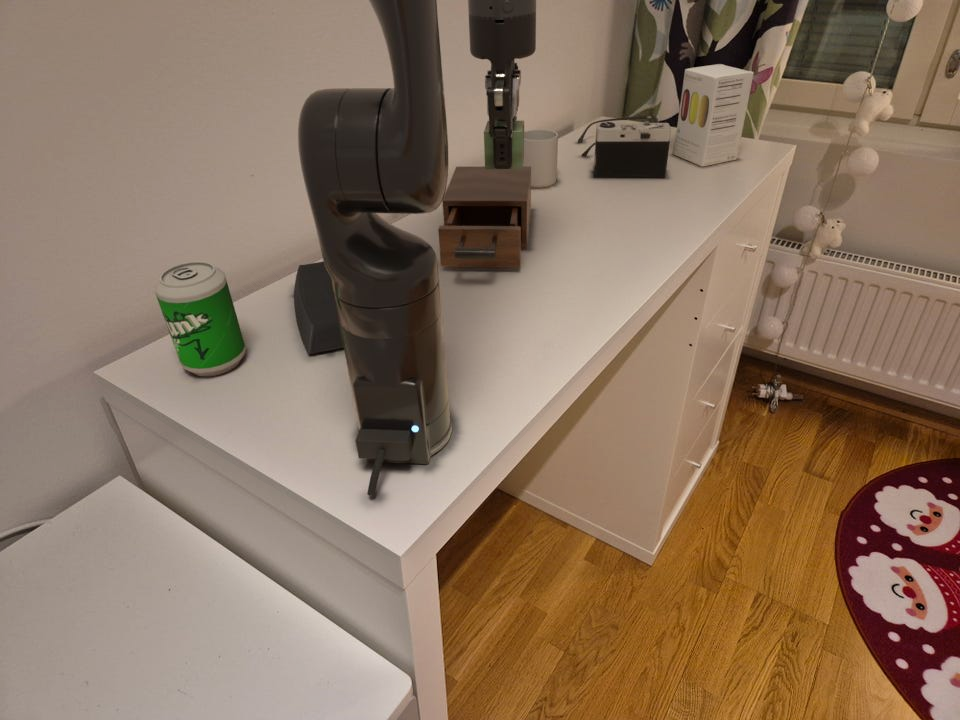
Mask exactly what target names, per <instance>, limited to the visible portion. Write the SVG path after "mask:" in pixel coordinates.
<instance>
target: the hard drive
mask: <svg viewBox="0 0 960 720" xmlns="http://www.w3.org/2000/svg"><path fill="white" fill-rule="evenodd" d="M293 304H294V305H293V306H294V314H295V320H296V324H297V328H298V332H299V335H300V338H301V341H302V344H303V346H304V349H305V350H306V352H307V354H308V355H313V354H319V353H324V352H328V351H329V352H330V351H334V350H339V349H344V346H343V340H342V335H341V329H340V324H339V318H338V312H337V307H336V301H335V296H334V290H333V286H332V280H331V277H330V275H329V273H328V271H327V269H326V267H325V264H324V261H319V262H313V263H305V264H299V265H298V268H297V271H296V274H295V282H294V289H293Z"/></svg>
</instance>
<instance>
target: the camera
mask: <svg viewBox="0 0 960 720" xmlns="http://www.w3.org/2000/svg"><path fill="white" fill-rule="evenodd" d="M595 129H596V130H595V142H594V143H595V145H594V159H593V160H594V161H593V178H595V179H597V178H599V179H601V178H602V179H625V178H626V179H665V178H666V175H667V167H668V166H667V165H668V159H669V153H670V144H671V141H670V137H671V132H672V128H671V126H670V123H668V122H658V123H650V120H645V121H644V122H613V121H606V122H599V123H596V128H595Z"/></svg>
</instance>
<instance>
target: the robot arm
mask: <svg viewBox="0 0 960 720" xmlns="http://www.w3.org/2000/svg"><path fill="white" fill-rule="evenodd" d="M368 1H369V4H370V5H371V8H372V10H373V11H374V14H375V16H376V19H377V21H378V24H379V26H380V29H381V32H382V35H383V38H384V41H385V44H386V49H387V54H388V58H389V62H390V66H391V73H392V74H391V75H392V79H393V81H392V82H393V88H391V87H367V88H366V87H365V88H364V87H351V88H349V87H339V88H337V87H335V88H323V89H318V90H316V91H314V92H311V93H310V95H308V96H307V97H306V99H305V101H304V103H303V104H302V107H301V110H300V113H299V119H298V123H297V125H298V126H297V146H298V147H297V148H298V154H299V156H298V157H299V162H300V168H301V174H302V178H303V182H304V187H305V191H306V194H307V195H306V196H307V198H308V202H309V206H310V210H311V214H312V219H313V221H314V226H315V230H316V234H317V238H318V243H319V247H320V252H321V256H322V260H323V261H322V262H324V264H325V267H326V269H327V271H328V273H329V275H330V277H331V280H332V286H333V290H334V296H335V301H336V307H337V312H338V318H339V324H340V329H341V335H342V340H343V346H344V348H343V350H344V355H345V356H344V357H345V363H346V367H347V373H348V378H349V384H350V389H351V394H352V400H353V404H354V411H355V416H356V421H357V426H358V428H357V429H358V430H357V431H358V433H357V435H356V438H355V445H356V450H357V454H358V455H357V456H358V459H365V461H366V462H373V463H374V464H373V466H372V470H371V475H370V477H369V483H368V487H367V496H369V497H375V496H376V492H377V488H378V482H379V477H380V475H381V471H382V468H383V464H384V463H393V464H394V463H395V464H419V465H427V464H429V462H430V459H431V457H432V456H433V455H435V454H437V453H438V452H439V451H441V450H442V449H443V448H444V447H445V446H446V444H447V443H448V442H449V440H450V438H451V435H452V431H453V423H452V417H451V414H450V399H449V390H448V376H447V363H446V353H445V340H444V339H445V338H444V328H443V325H444V324H443V313H442V300H441V287H440V275H439V274H440V273H439V263H438V257H437V254H436V251H435V250H434V248H433V246H432V245H431V244H430V243H429V242H428V241H426V240H425V239H424V238H422V237H420V236H417V235H415V234H413V233H411V232H408V231H405V230H403V229H401V228H399V227H396V226H394V225H393V224H392V223H390V222H388V221H387V220H385V219H384V218H383V217H381V216H380V215H379V214H398V215H421V214H430V213H433V212H434V211H436V210H437V209H438V208H439V207H440V206H441V205H442V201H443V198H444V196H445V193H446V191H447V185H448V184H447V183H448V177H449V138H448V137H449V136H448V124H447V123H448V121H447V111H446V110H447V109H446V98H445V87H444V85H445V84H444V75H443V64H442V63H443V62H442V53H441V52H442V51H441V42H440V41H441V40H440V28H439V16H438V0H368ZM467 6H468V7H467V9H468V10H467V12H468V33H469V52H470V55H472V57H473V58H476V59H478V60H479V59H480V60H487V61H489V62H490V69H489V70H487V73H486V74H485V76H484V88H485V90H486V92H485V93H486V101H487V102H486V114H487V116H488V121H489V129H490V130H489V134H490V137H492V138H493V156H494V167H495V168H496V169H510V168H511V166H512V135H513V134H514V131H513V121H518V116H517V115H518V111H519V107H520V87H521V82H522V70H521V69H519V65H518V62H516V61H515V60H517V59H519V60H521V59H525V58H528V57H531V56H532V55H534V53H535V52H536V50H537V49H536V47H537V46H536V45H537V44H536V43H537V0H467ZM496 121H506V126H496Z"/></svg>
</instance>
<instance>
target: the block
mask: <svg viewBox="0 0 960 720" xmlns="http://www.w3.org/2000/svg"><path fill="white" fill-rule="evenodd" d="M496 126H506V121H496ZM489 130H490V129H489V120H487V121H486V125H485V128H484V131H483V147H484V149H483V150H484V167H485V169H496V168H495V167H494V156H493V138H492V137H490V134H489ZM513 131H514V134H513V135H512V166H511V168H510V169H522V167H523V161H524V131H525V120H516V121H513Z"/></svg>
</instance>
